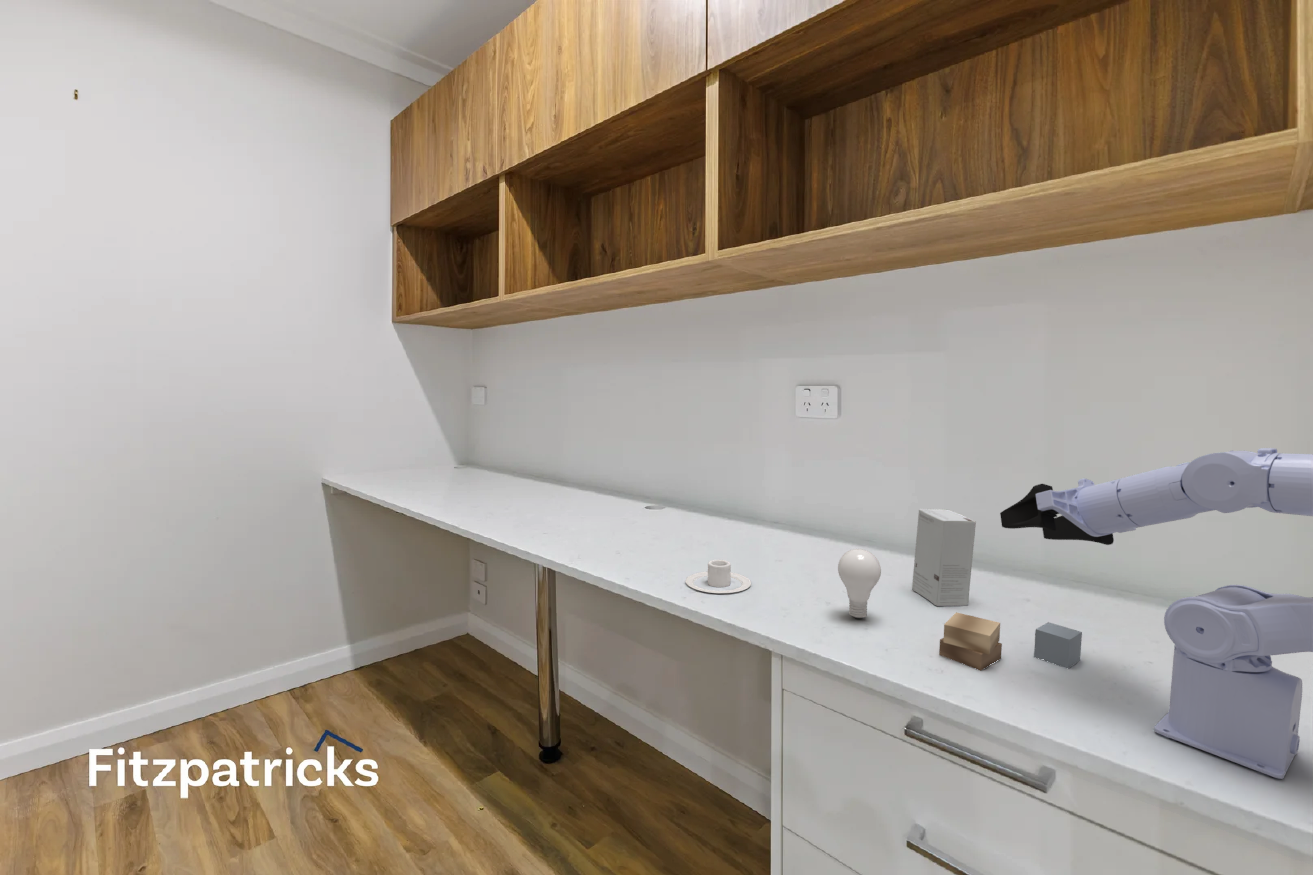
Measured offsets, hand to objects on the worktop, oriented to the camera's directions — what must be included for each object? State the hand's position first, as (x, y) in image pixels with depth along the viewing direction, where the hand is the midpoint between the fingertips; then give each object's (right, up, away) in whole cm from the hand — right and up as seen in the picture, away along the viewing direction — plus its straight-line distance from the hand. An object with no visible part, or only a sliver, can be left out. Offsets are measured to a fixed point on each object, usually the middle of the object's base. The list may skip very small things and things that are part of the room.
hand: (1023, 525), depth 79 cm
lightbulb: (-17, -17, +14) cm, 28 cm away
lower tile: (-7, -18, +1) cm, 19 cm away
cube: (+5, -18, 0) cm, 19 cm away
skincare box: (0, -16, +23) cm, 28 cm away
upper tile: (-7, -16, +1) cm, 17 cm away
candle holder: (-38, -16, +30) cm, 51 cm away
